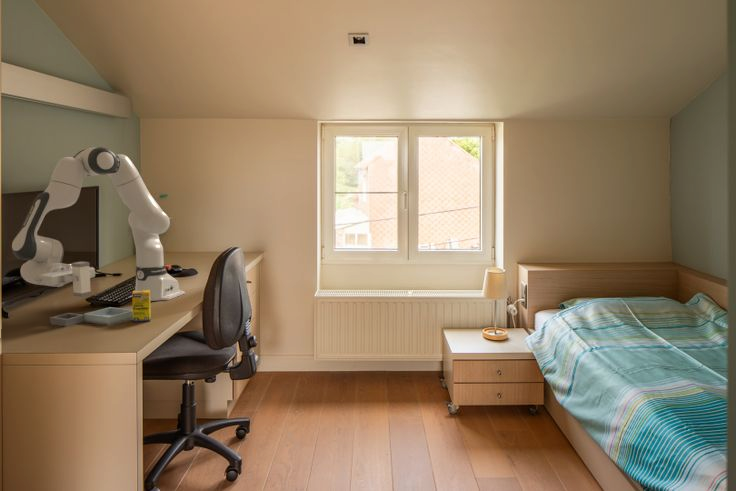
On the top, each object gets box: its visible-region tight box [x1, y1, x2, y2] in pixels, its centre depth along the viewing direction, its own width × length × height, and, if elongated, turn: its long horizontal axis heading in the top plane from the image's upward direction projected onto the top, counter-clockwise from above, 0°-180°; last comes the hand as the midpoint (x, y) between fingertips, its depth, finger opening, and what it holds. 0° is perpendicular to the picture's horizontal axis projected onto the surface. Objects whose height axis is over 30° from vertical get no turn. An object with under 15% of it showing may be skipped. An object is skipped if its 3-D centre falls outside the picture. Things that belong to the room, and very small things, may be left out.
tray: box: [83, 306, 133, 326], centre depth 232 cm, size 12×12×3 cm
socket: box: [49, 312, 86, 328], centre depth 229 cm, size 12×8×2 cm
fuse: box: [71, 261, 92, 298], centre depth 228 cm, size 4×4×12 cm
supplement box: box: [131, 289, 152, 323], centre depth 232 cm, size 6×6×11 cm
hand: (83, 277), depth 227 cm, fingers closed on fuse, 4 cm apart
